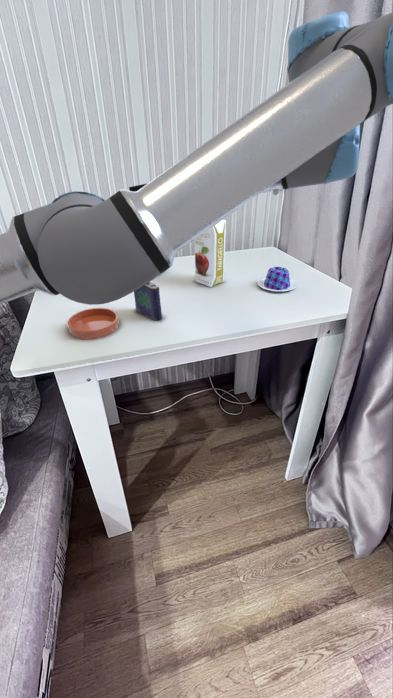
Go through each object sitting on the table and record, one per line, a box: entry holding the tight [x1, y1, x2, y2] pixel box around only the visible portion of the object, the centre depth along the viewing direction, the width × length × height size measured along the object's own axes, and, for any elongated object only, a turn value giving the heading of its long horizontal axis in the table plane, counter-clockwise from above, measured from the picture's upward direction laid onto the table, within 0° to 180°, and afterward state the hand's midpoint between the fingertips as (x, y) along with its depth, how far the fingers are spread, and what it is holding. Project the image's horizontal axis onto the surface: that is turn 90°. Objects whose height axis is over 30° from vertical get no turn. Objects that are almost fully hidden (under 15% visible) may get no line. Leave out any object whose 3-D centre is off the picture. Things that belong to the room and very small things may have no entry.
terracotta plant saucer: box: [67, 307, 120, 340], centre depth 80 cm, size 12×12×2 cm
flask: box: [133, 280, 163, 322], centre depth 83 cm, size 9×3×11 cm, turn 48°
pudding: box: [256, 266, 297, 292], centre depth 99 cm, size 12×12×5 cm
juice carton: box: [194, 219, 227, 288], centre depth 99 cm, size 8×9×19 cm
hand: (150, 190), depth 63 cm, fingers open, 13 cm apart
